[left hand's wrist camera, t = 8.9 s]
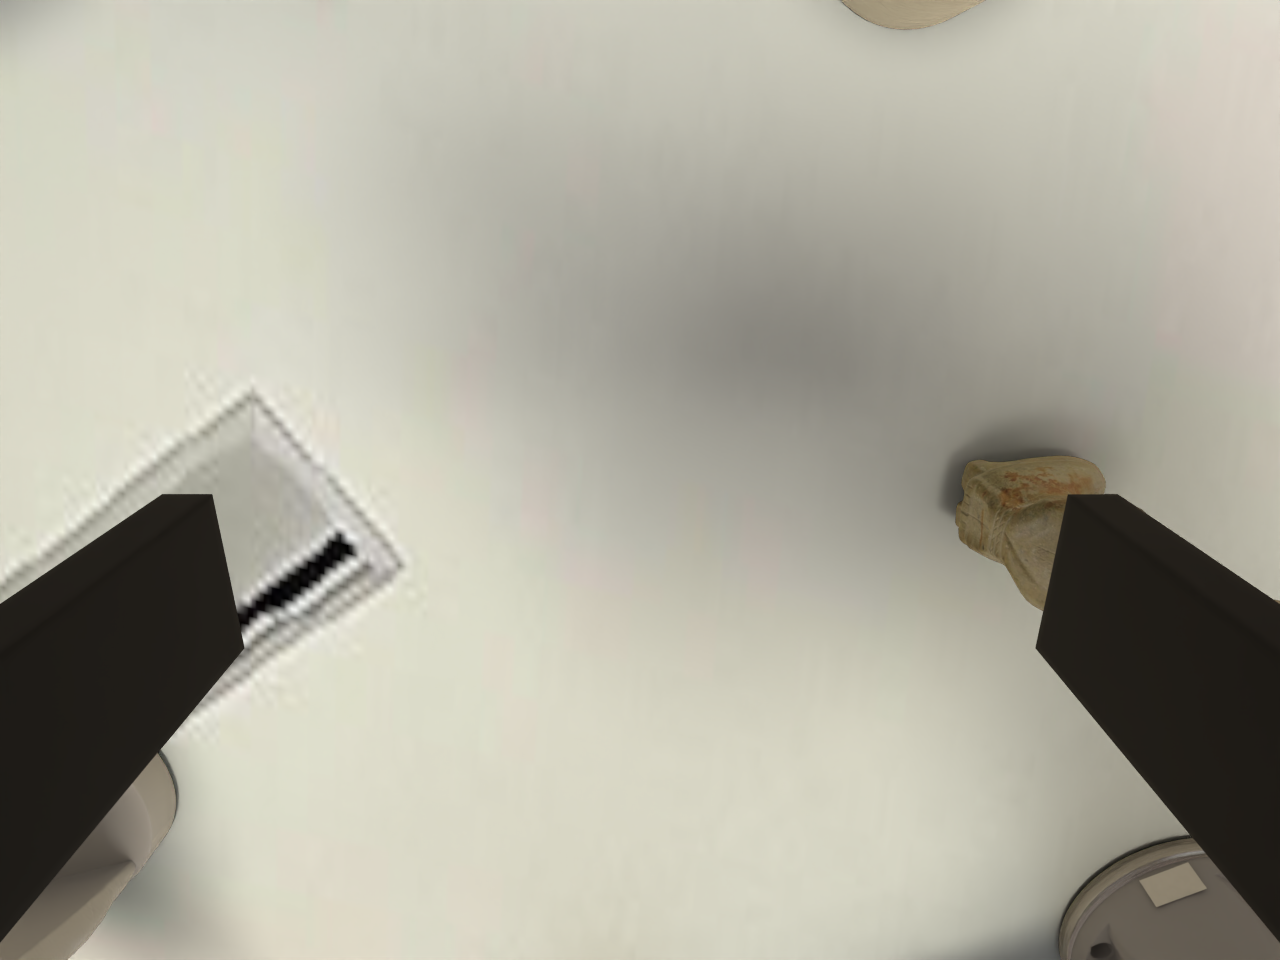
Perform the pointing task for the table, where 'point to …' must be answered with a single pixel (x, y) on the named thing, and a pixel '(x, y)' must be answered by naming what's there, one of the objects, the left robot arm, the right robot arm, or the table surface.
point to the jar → (909, 11)
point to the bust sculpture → (96, 871)
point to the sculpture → (1022, 513)
